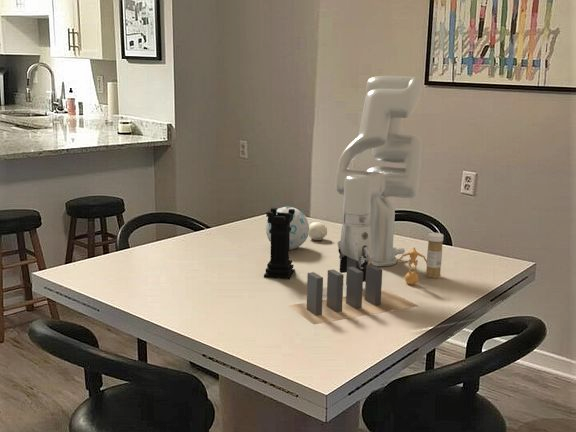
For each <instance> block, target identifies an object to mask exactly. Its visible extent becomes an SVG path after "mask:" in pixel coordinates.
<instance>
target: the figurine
mask: <svg viewBox="0 0 576 432" xmlns="http://www.w3.org/2000/svg"><path fill="white" fill-rule="evenodd" d="M406 256H409V257H410V258H409V259H408V261H407V262H408V263H407V265H408V272H407V273H406V274H405V275H404V281H405V283H406V285H410V286H414V285H417V284H418V282H419V275H418V274H417V273H416V271H417V266H418V262H419V260H418V259H417V257H418V256H419V257H421V258H423V260H424V261H425V264H427V258H426V257H425V255H423V254H421V253H420V252H418V251H417V250H416V247H415V246H414V247H412V248H411V251H408V252H405V253H404V254H401V256H400V257H399V259H398V260H397V262H398V263H400V261H401V260H402V259H403V258H404V257H406ZM412 264H413V265H414V267H413V271H411V269H412V267H411V265H412Z"/></svg>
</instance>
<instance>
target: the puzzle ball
mask: <svg viewBox="0 0 576 432" xmlns="http://www.w3.org/2000/svg"><path fill="white" fill-rule="evenodd" d="M289 209H295V213H294V214H293V220H292V221H291V223H290V227H291V231H290V242H289V251H292V250H295V249H298V248H300V247H301V246H302V245H303V244H305V242H306V241H307V239H308V237H309V235H308V233H309V226H310V224H309V221H308V217H307V216H306V215H305V214H304V213H303V211H301V210H299V209H298V208H297V207H296V208H295V207H294V206H283V207H279V208H277V213H278V212H281V213H289ZM277 213H276V215H277ZM265 223H266V224H265V233H266V236H267V239H268V241H269V242H270V243H271V233H269V230H270V229H271V223H268V219H267V220H266V222H265Z"/></svg>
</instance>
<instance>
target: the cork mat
mask: <svg viewBox="0 0 576 432" xmlns="http://www.w3.org/2000/svg"><path fill="white" fill-rule="evenodd" d="M288 307H289V308H291V309H292V310H293V311H295V312H296V313H297V314H299V315H300V316H302V317H303V318H305V320H307V321H308V322H310V323H311V324H313V325H317V324H322V323H323V324H324V323H329V322H334V321H341V320H345V319H351V318H357V317H362V316H368V315H374V314H380V313H381V314H382V313H385V312H391V311H397V310H402V309H408V308H409V309H410V308H414V307H419V305H418V304H416V303H414V302H413V301H412V302H411V301H410V300H408V299H406V298H405V297H402V296H401V295H400V294H397V293H395V292H393V291H392V290H389V289H385V290H381V305H378V306H374V305H372V304H371V303H369V302H367V301H366V300H365V292H364V293H362V308H360V309H355V308H353V307H351V306H350V305H348V304H347V303H346V295H345V296H343V301H342V312H335V311H333V310H331V309H330V308H328V307H327V298H326V299H322V315H319V316H315V315H314V314H312V313H311V312H309V311H308V310H307V302H302V303H295V304H290V305H288Z"/></svg>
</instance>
